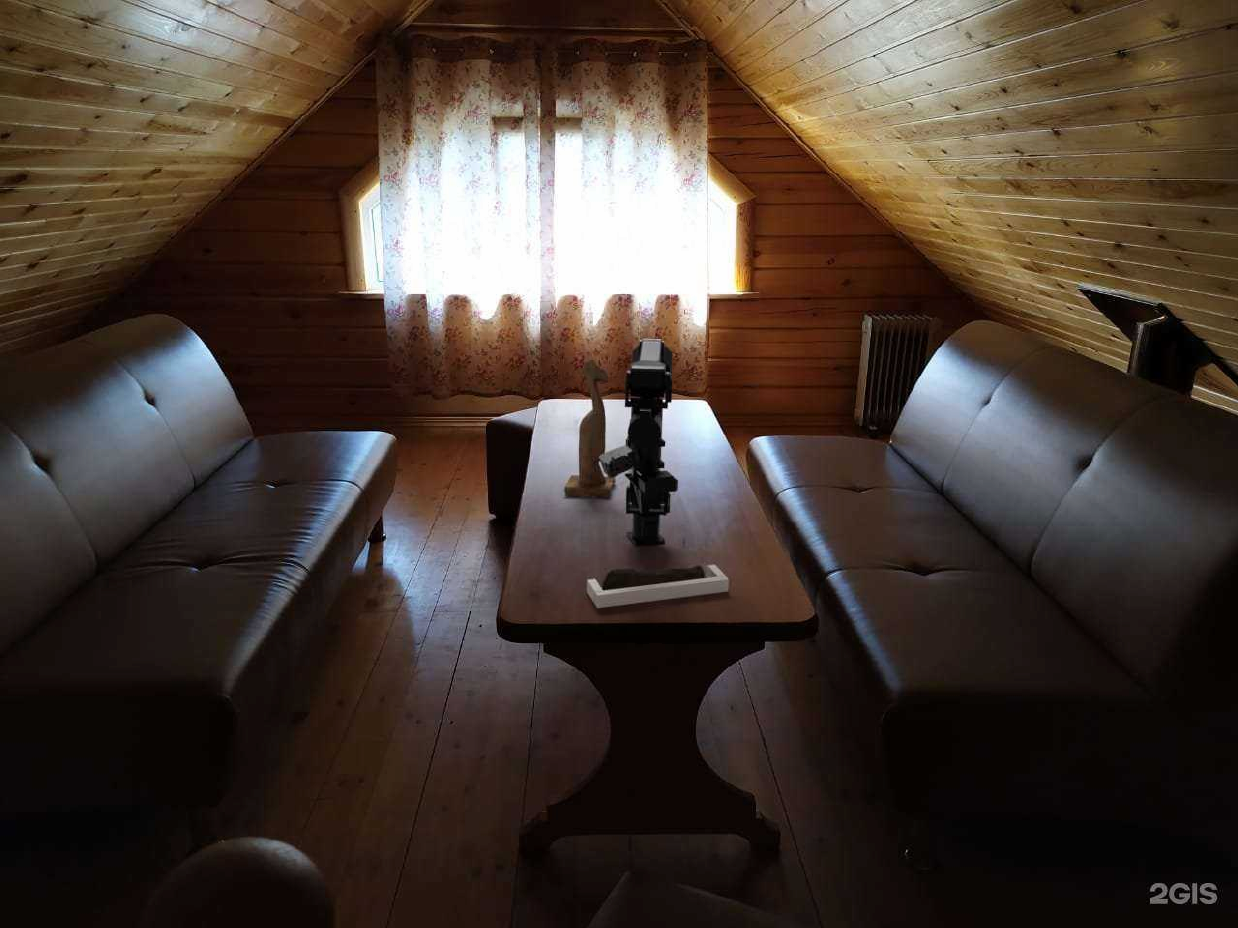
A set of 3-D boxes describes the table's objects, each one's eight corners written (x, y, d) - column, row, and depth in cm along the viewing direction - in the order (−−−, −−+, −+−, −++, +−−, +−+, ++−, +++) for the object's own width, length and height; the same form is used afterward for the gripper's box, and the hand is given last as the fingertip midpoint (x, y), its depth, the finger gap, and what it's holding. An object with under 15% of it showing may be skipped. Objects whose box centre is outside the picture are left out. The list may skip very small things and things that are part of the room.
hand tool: (699, 581, 166) (701, 559, 164) (705, 590, 162) (706, 567, 161) (600, 588, 163) (600, 565, 161) (604, 597, 159) (604, 574, 157)
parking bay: (587, 592, 160) (587, 579, 159) (713, 576, 167) (714, 564, 167) (597, 608, 154) (597, 595, 153) (728, 591, 162) (728, 578, 161)
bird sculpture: (613, 500, 207) (620, 366, 197) (563, 497, 207) (568, 363, 198) (615, 485, 218) (622, 357, 208) (568, 482, 218) (572, 354, 208)
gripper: (589, 423, 167) (589, 500, 171) (619, 451, 150) (617, 536, 154) (645, 419, 170) (643, 495, 175) (680, 446, 153) (677, 530, 158)
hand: (643, 513), depth 165 cm, fingers closed
